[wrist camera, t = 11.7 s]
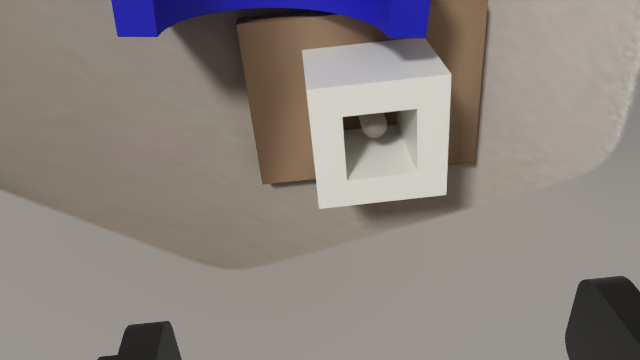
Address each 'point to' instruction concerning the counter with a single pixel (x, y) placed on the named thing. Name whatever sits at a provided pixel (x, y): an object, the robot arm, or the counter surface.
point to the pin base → (338, 30)
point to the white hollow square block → (378, 97)
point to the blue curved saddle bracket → (183, 3)
